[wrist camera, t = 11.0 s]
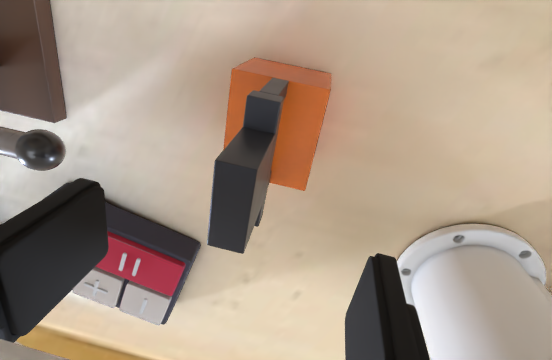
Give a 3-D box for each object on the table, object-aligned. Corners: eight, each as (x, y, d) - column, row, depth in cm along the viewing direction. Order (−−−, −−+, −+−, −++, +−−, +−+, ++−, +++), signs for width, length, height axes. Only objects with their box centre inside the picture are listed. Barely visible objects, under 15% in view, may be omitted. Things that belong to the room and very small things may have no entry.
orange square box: (331, 73, 24) (328, 145, 11) (310, 157, 27) (287, 292, 14) (253, 57, 24) (156, 106, 11) (242, 142, 28) (156, 259, 14)
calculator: (161, 332, 35) (27, 280, 34) (176, 301, 39) (56, 253, 38) (190, 267, 30) (33, 203, 29) (204, 238, 34) (66, 180, 32)
